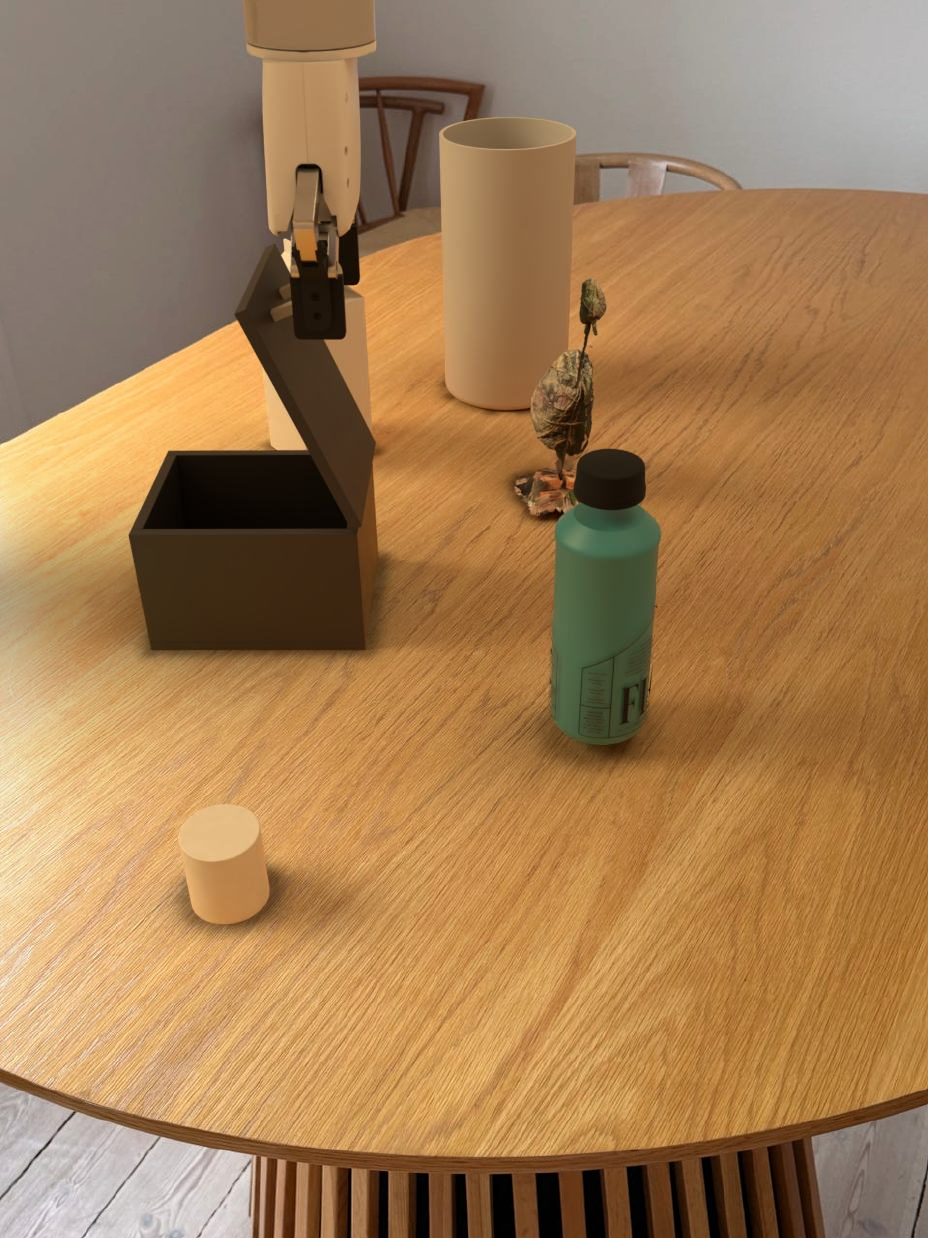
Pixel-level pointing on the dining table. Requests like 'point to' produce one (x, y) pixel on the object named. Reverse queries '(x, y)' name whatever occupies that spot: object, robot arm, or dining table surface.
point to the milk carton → (348, 359)
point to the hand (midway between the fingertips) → (329, 309)
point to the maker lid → (308, 386)
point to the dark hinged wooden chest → (252, 555)
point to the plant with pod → (564, 415)
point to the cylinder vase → (505, 255)
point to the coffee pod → (224, 863)
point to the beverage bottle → (604, 602)
